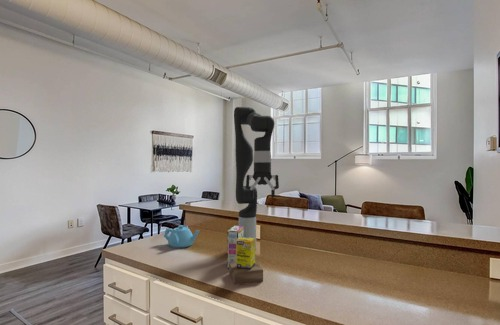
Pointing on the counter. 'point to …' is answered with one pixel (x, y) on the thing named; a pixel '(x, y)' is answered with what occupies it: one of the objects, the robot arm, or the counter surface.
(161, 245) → the counter surface
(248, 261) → the supplement box
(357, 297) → the counter surface
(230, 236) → the candy bar box
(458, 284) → the counter surface
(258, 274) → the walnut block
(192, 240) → the teapot
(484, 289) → the counter surface
